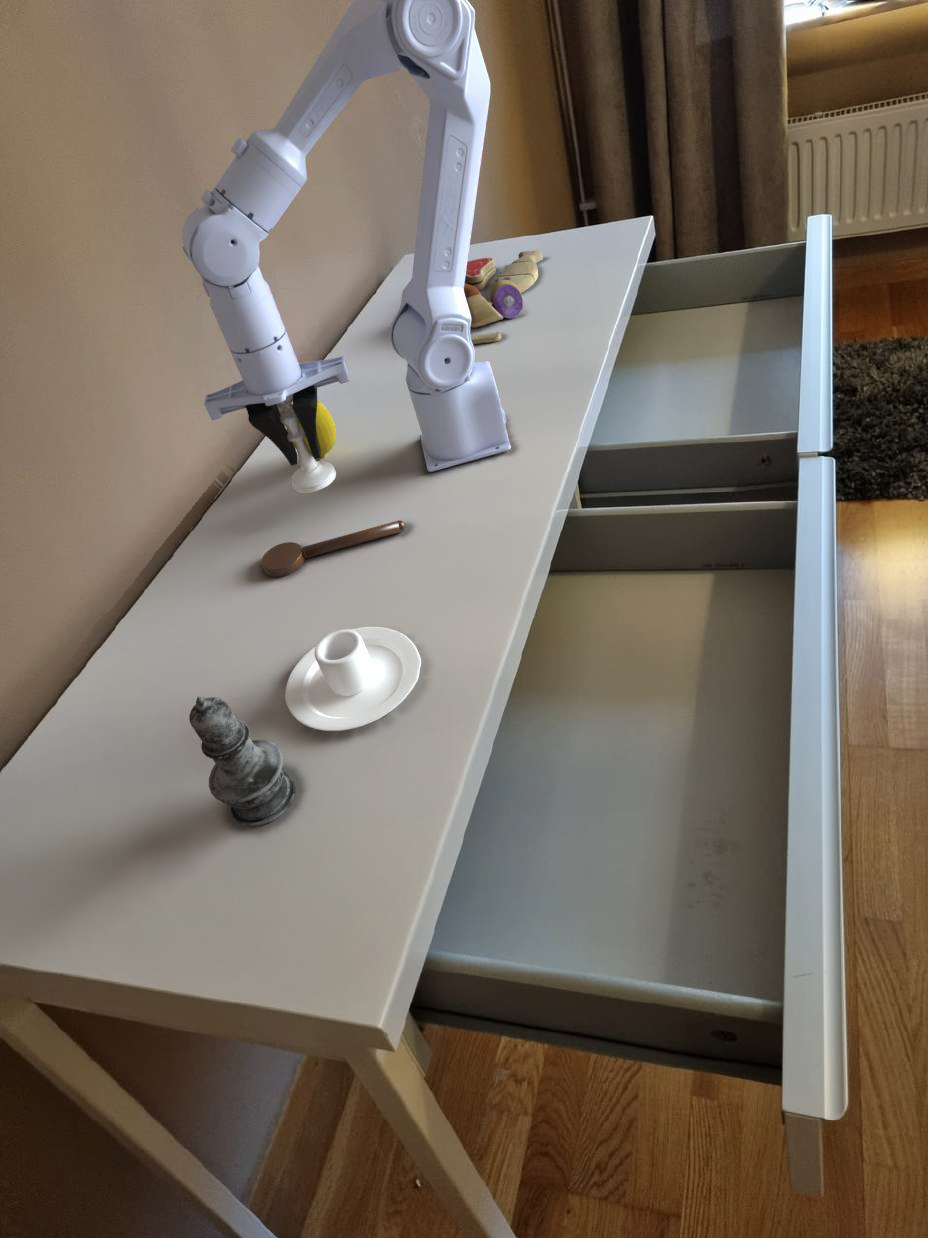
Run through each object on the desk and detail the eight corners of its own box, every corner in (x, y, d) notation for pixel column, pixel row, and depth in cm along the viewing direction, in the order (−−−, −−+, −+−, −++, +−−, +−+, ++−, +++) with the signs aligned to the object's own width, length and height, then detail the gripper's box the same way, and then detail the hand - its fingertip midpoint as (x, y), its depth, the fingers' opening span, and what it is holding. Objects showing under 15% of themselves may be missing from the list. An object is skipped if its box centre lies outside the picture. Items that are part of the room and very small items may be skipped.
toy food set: (517, 339, 117) (511, 310, 114) (401, 352, 122) (393, 325, 119) (544, 257, 134) (540, 230, 132) (443, 272, 139) (436, 247, 136)
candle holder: (450, 667, 75) (438, 631, 72) (344, 760, 70) (326, 725, 67) (363, 615, 83) (349, 580, 80) (262, 696, 78) (243, 662, 75)
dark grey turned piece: (231, 775, 72) (165, 676, 64) (300, 760, 71) (242, 658, 63) (223, 837, 67) (150, 738, 59) (296, 821, 67) (233, 719, 59)
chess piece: (317, 496, 93) (284, 413, 87) (283, 489, 96) (249, 408, 89) (345, 469, 96) (314, 387, 90) (311, 463, 99) (279, 383, 92)
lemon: (337, 469, 103) (314, 409, 98) (294, 472, 105) (269, 413, 99) (350, 442, 107) (329, 383, 102) (308, 446, 108) (285, 388, 103)
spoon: (404, 517, 93) (401, 508, 92) (408, 541, 89) (405, 532, 89) (265, 555, 93) (261, 547, 93) (264, 581, 90) (259, 572, 89)
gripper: (181, 377, 82) (238, 495, 91) (330, 334, 82) (373, 457, 91) (188, 346, 88) (241, 460, 97) (328, 305, 87) (369, 424, 96)
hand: (305, 457), depth 94 cm, fingers closed on chess piece
